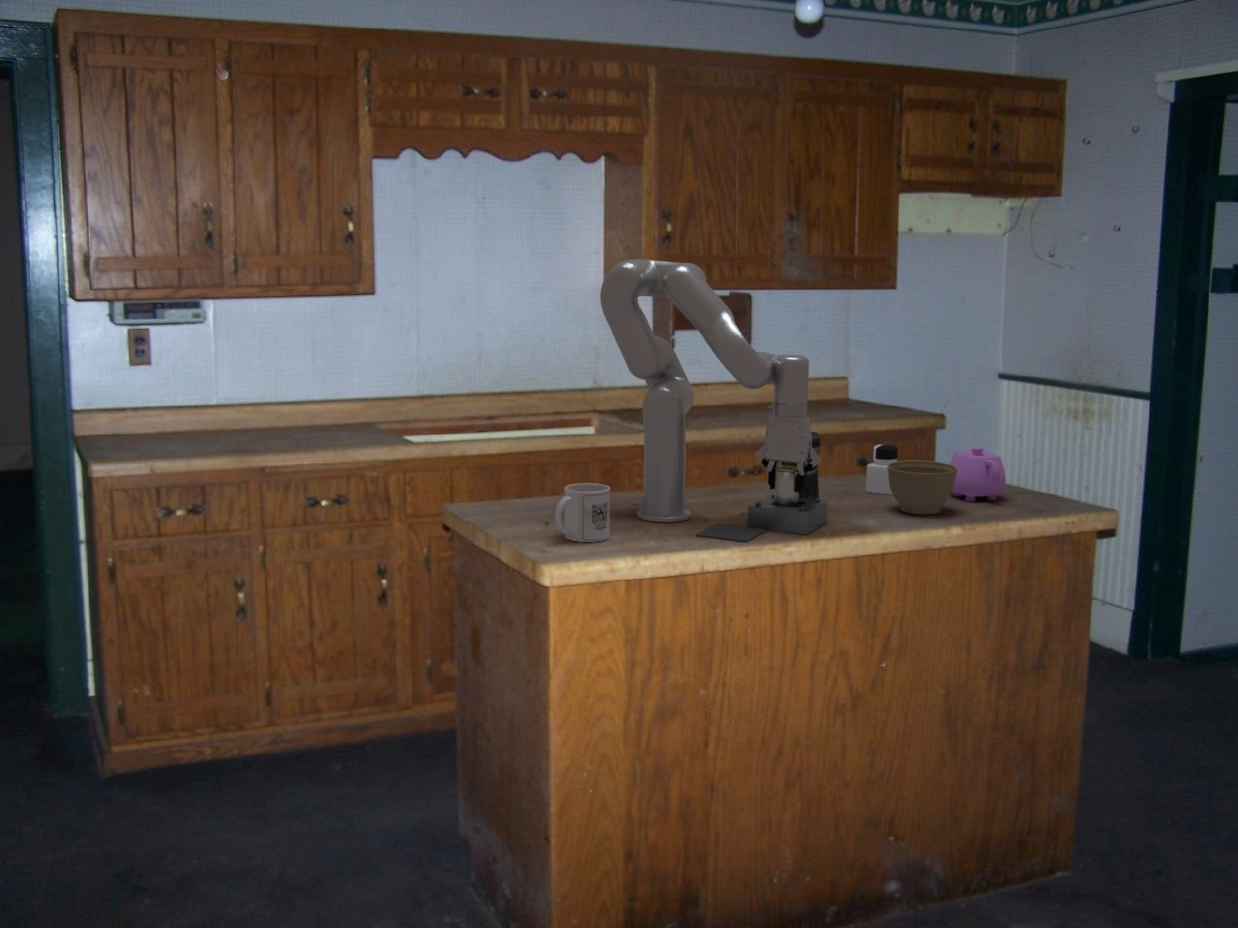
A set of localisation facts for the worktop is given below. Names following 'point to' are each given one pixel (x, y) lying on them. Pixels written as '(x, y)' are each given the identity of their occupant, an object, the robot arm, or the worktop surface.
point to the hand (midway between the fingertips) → (786, 489)
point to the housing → (787, 515)
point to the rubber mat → (731, 532)
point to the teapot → (978, 474)
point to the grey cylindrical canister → (786, 486)
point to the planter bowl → (921, 485)
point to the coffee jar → (810, 472)
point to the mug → (585, 512)
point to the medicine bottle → (880, 469)
